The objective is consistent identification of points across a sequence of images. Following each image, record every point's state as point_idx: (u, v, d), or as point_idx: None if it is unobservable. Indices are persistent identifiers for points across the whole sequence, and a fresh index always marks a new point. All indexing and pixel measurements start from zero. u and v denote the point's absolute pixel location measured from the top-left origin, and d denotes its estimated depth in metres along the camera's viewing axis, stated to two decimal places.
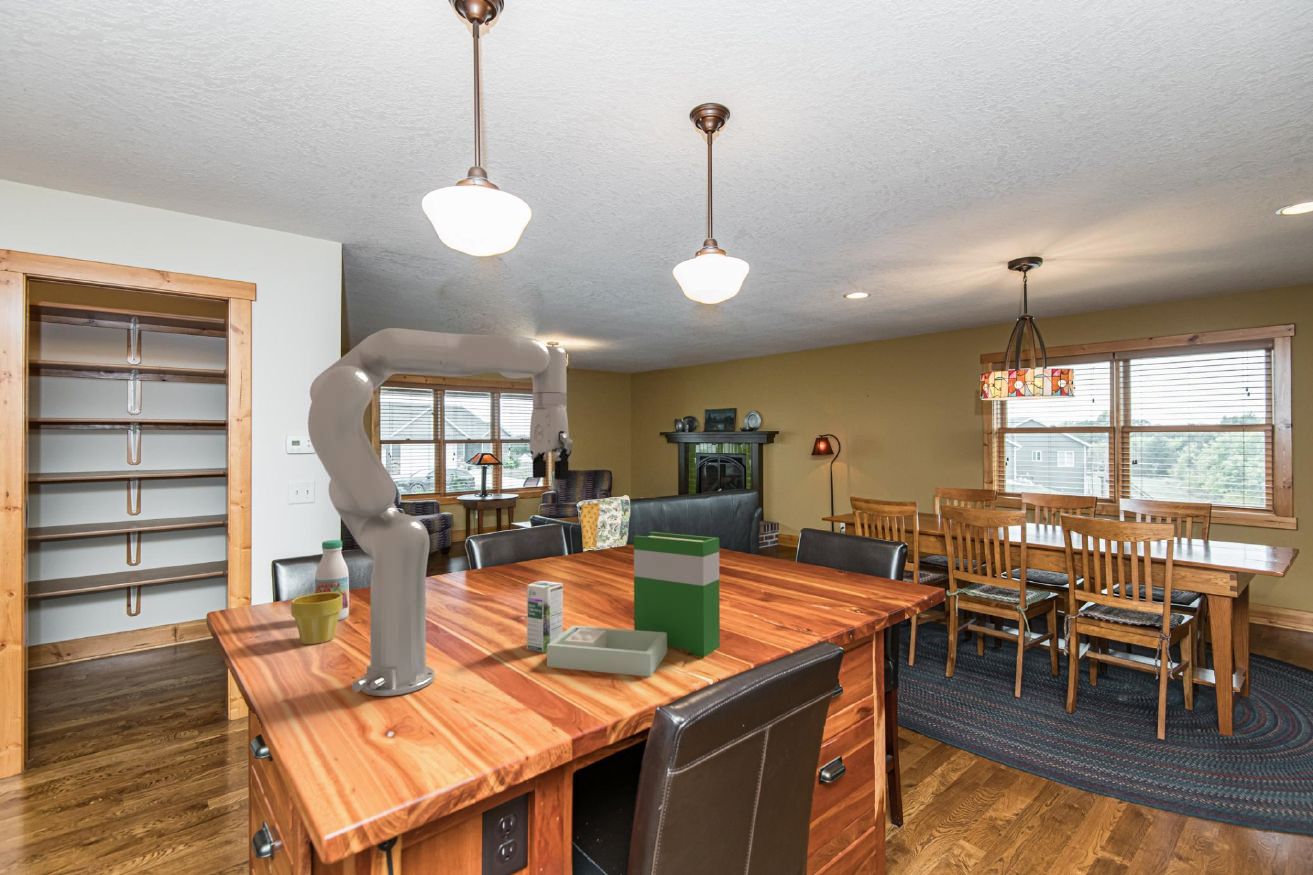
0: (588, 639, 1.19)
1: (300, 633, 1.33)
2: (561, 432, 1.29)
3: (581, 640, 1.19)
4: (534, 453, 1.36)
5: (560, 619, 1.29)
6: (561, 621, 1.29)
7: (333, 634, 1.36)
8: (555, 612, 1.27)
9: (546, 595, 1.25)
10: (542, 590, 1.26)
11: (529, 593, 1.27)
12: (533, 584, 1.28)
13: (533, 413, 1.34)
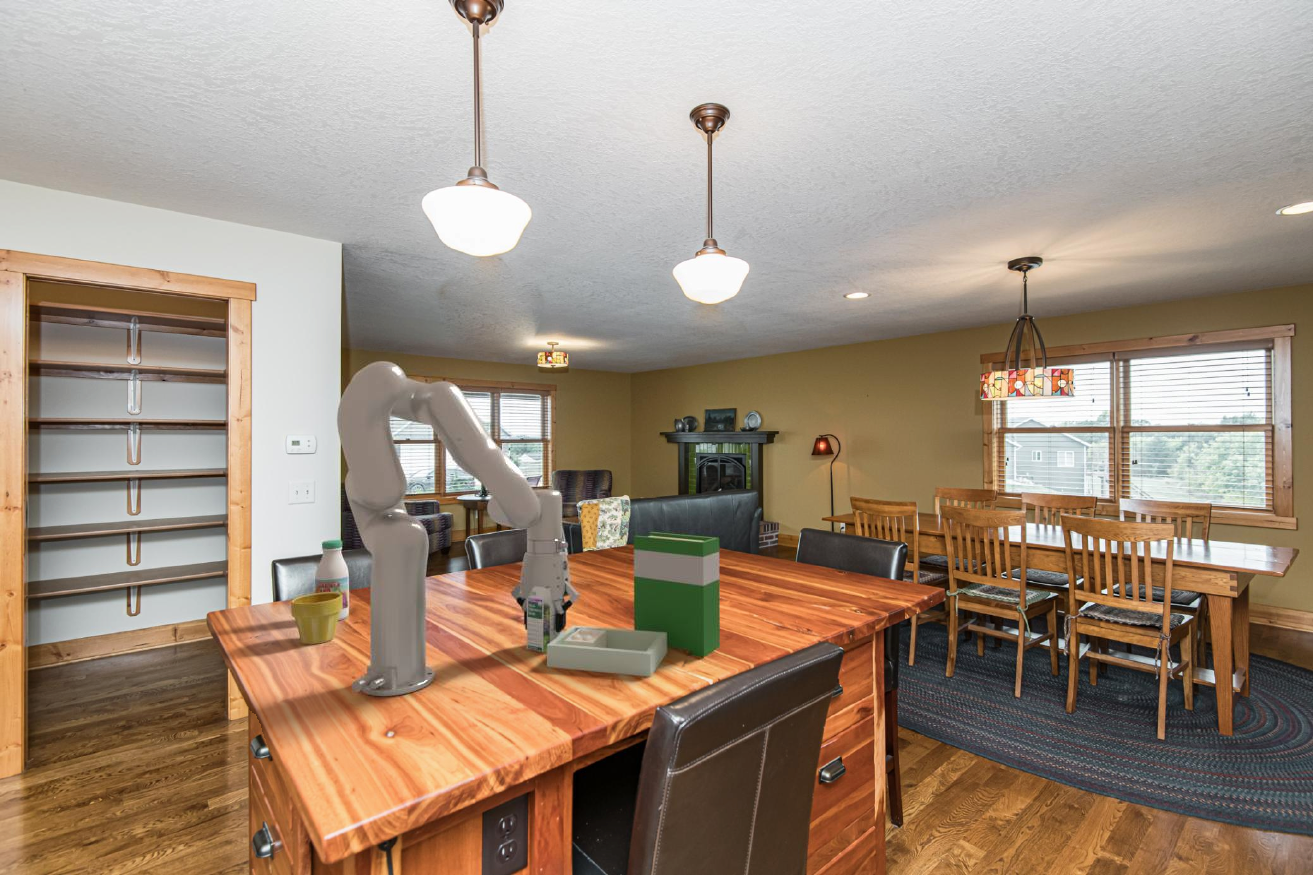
0: (588, 639, 1.19)
1: (300, 633, 1.33)
2: None
3: (581, 640, 1.19)
4: None
5: None
6: None
7: (333, 634, 1.36)
8: (555, 612, 1.27)
9: (546, 595, 1.25)
10: (542, 590, 1.26)
11: None
12: None
13: None
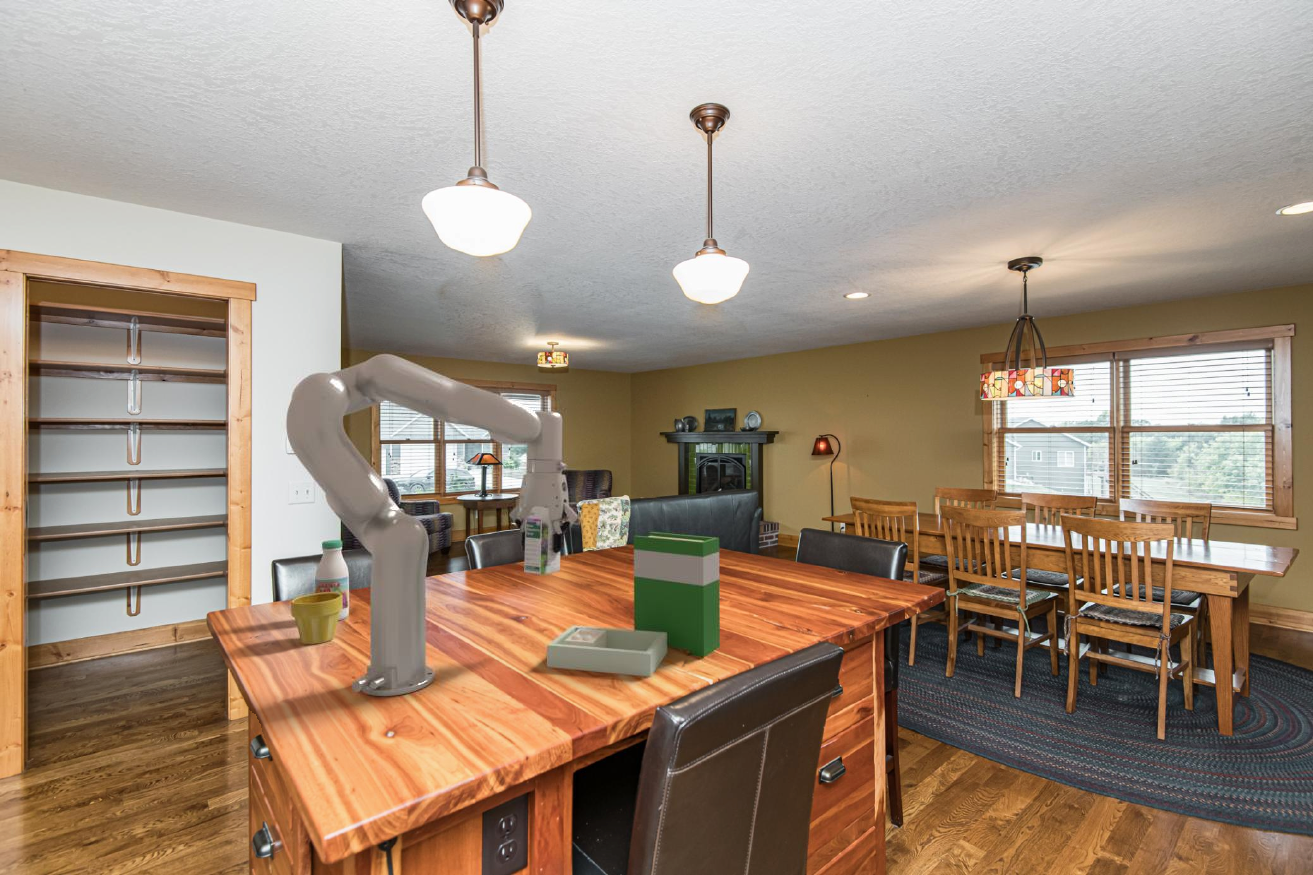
0: (588, 639, 1.19)
1: (300, 633, 1.33)
2: None
3: (581, 640, 1.19)
4: None
5: None
6: None
7: (333, 634, 1.36)
8: (554, 533, 1.28)
9: (545, 514, 1.25)
10: (541, 509, 1.26)
11: None
12: None
13: None
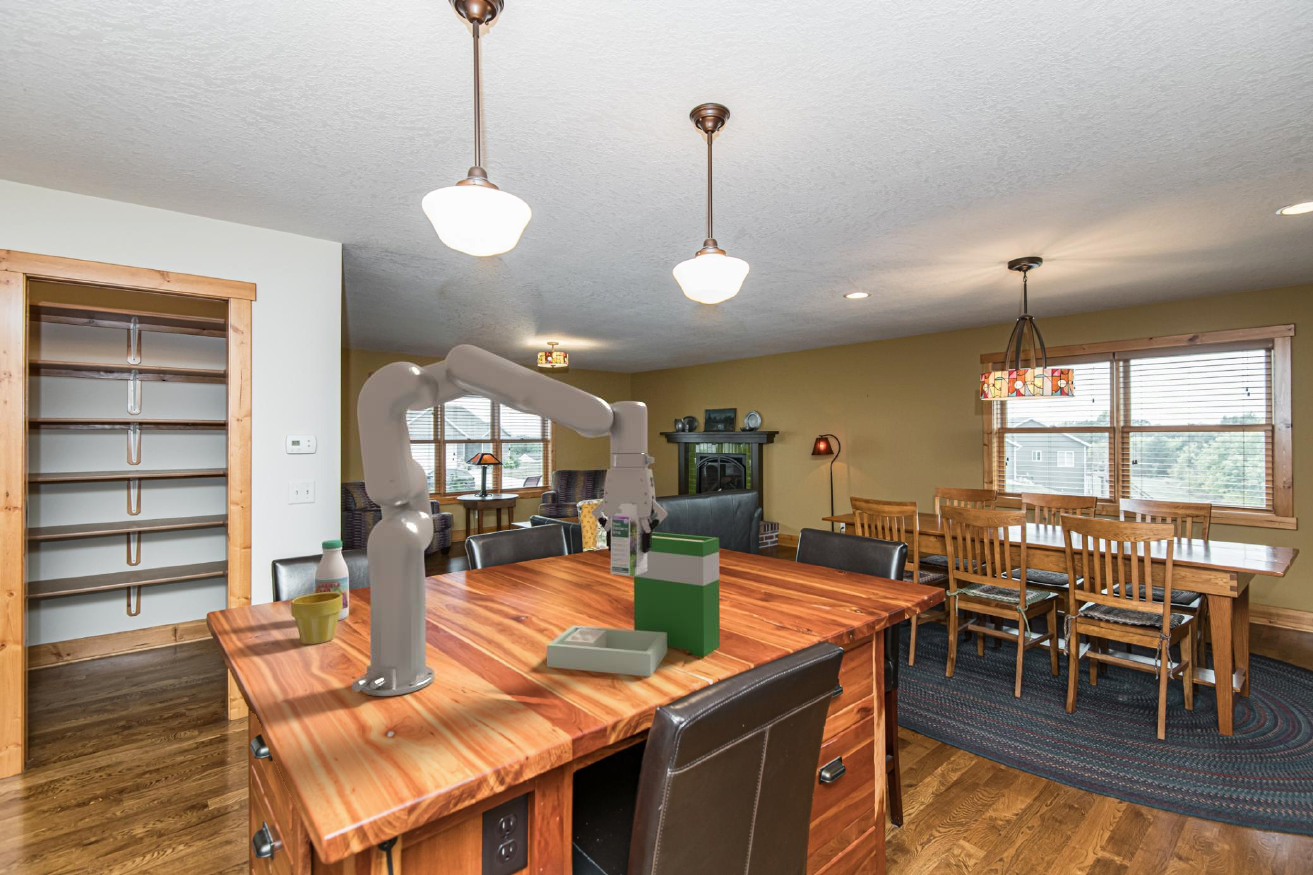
0: (588, 639, 1.19)
1: (300, 633, 1.33)
2: None
3: (581, 640, 1.19)
4: None
5: None
6: None
7: (333, 634, 1.36)
8: (641, 531, 1.19)
9: (633, 512, 1.16)
10: (629, 506, 1.17)
11: None
12: None
13: None
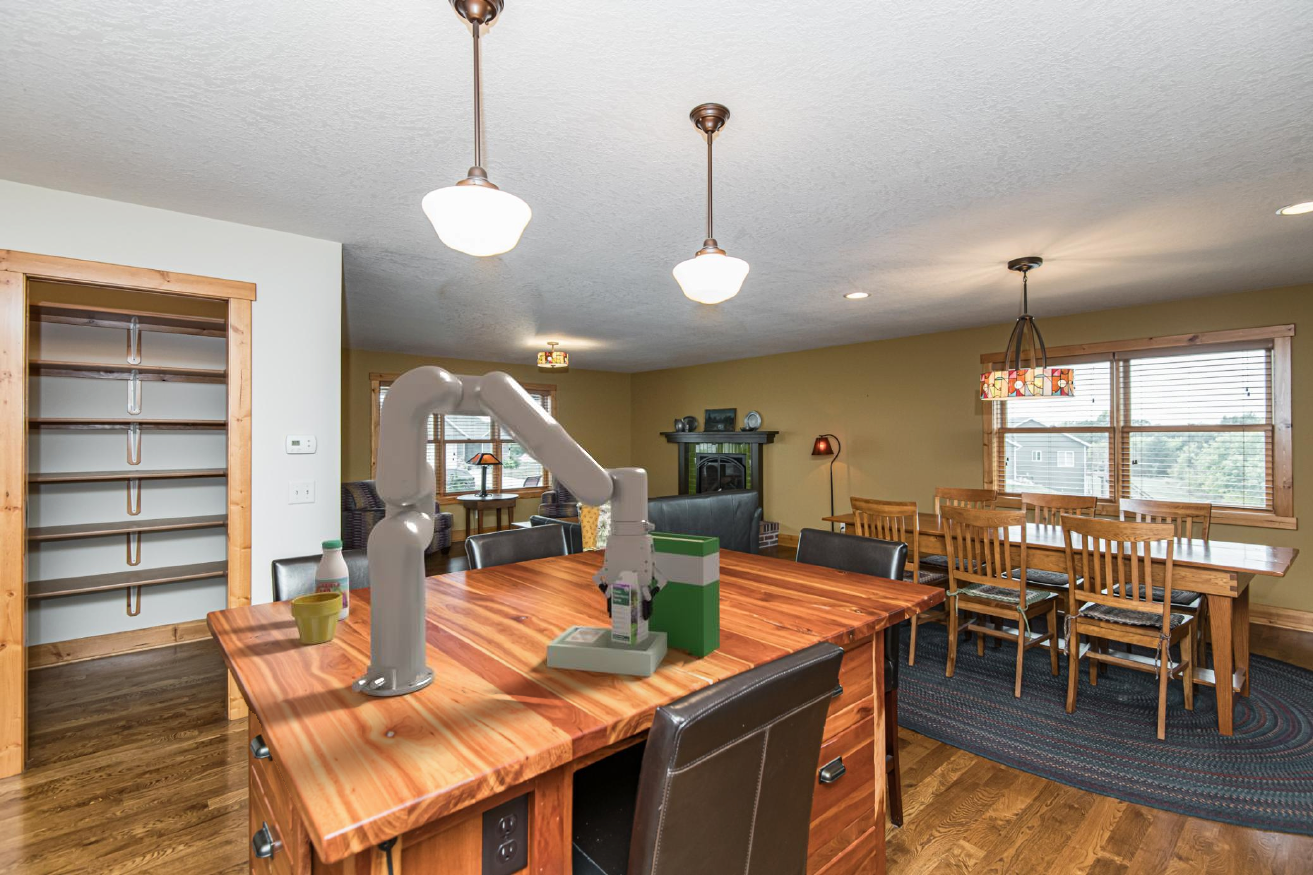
0: (588, 639, 1.19)
1: (300, 633, 1.33)
2: None
3: (581, 640, 1.19)
4: None
5: None
6: None
7: (333, 634, 1.36)
8: (642, 598, 1.19)
9: (634, 580, 1.16)
10: (629, 574, 1.17)
11: None
12: None
13: None
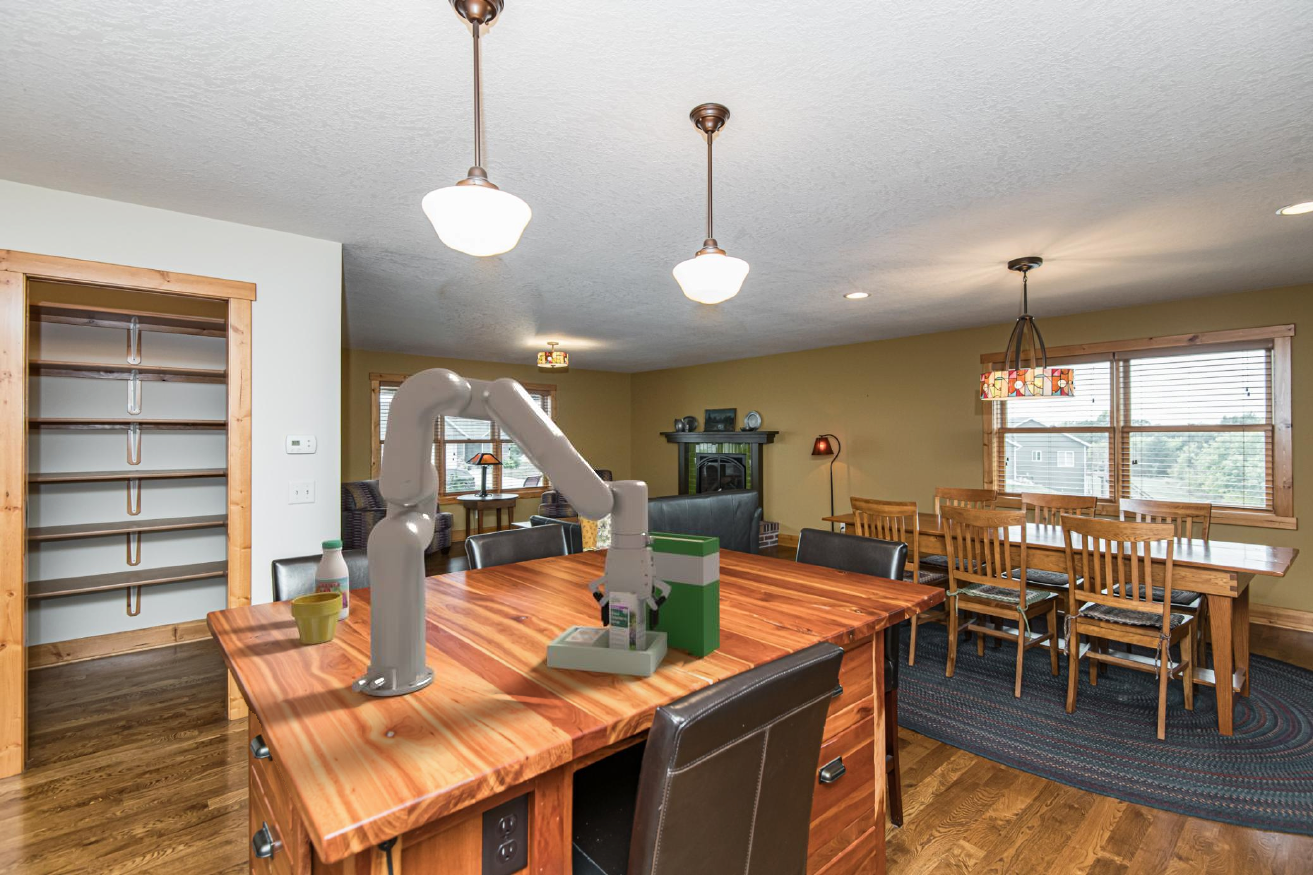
0: (588, 639, 1.19)
1: (300, 633, 1.33)
2: None
3: (581, 640, 1.19)
4: None
5: (644, 627, 1.20)
6: (644, 630, 1.20)
7: (333, 634, 1.36)
8: (640, 620, 1.19)
9: (632, 602, 1.16)
10: (628, 596, 1.17)
11: (611, 599, 1.18)
12: None
13: None
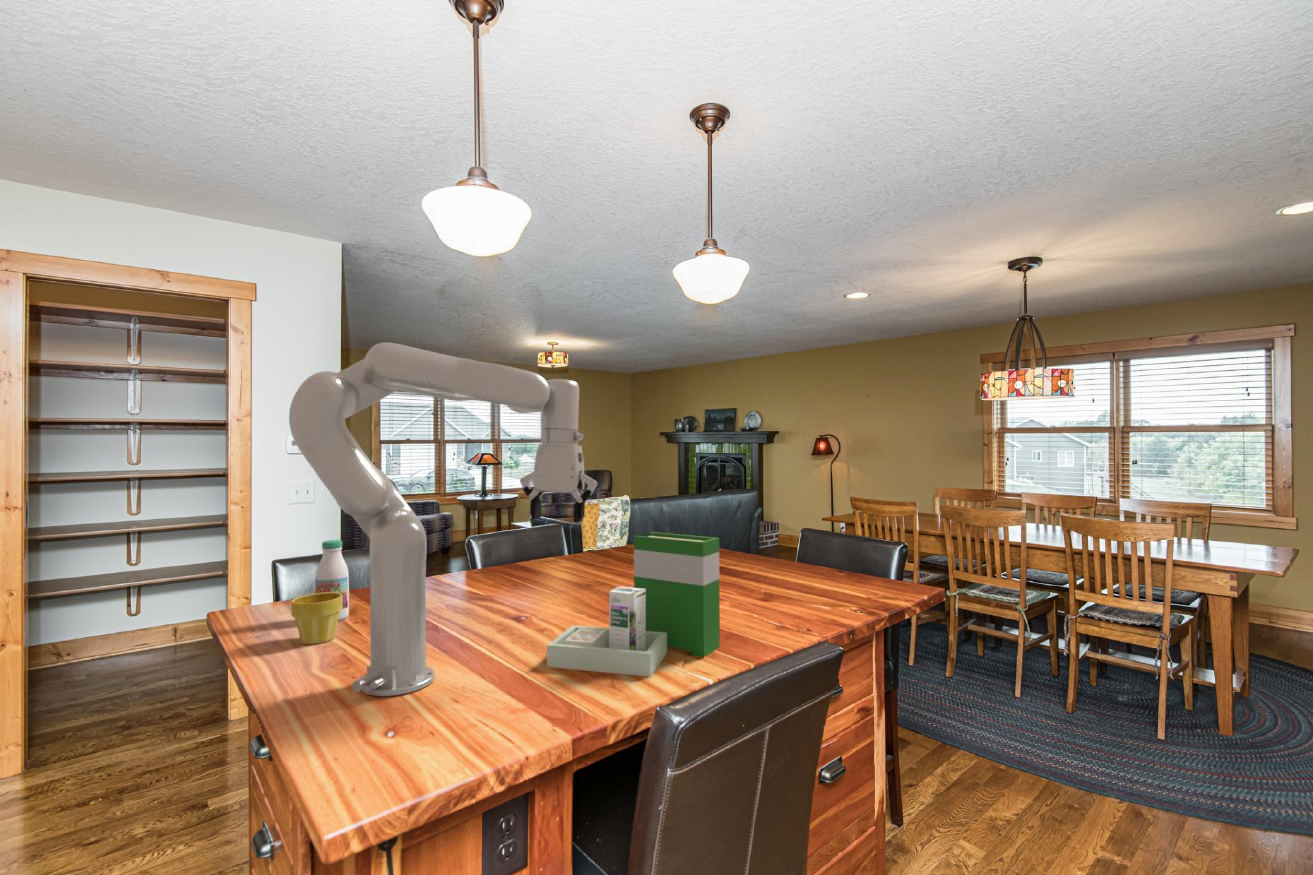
0: (588, 639, 1.19)
1: (300, 633, 1.33)
2: None
3: (581, 640, 1.19)
4: None
5: (644, 627, 1.20)
6: (644, 630, 1.20)
7: (333, 634, 1.36)
8: (640, 620, 1.19)
9: (632, 602, 1.16)
10: (628, 596, 1.17)
11: (611, 599, 1.18)
12: (615, 590, 1.19)
13: None
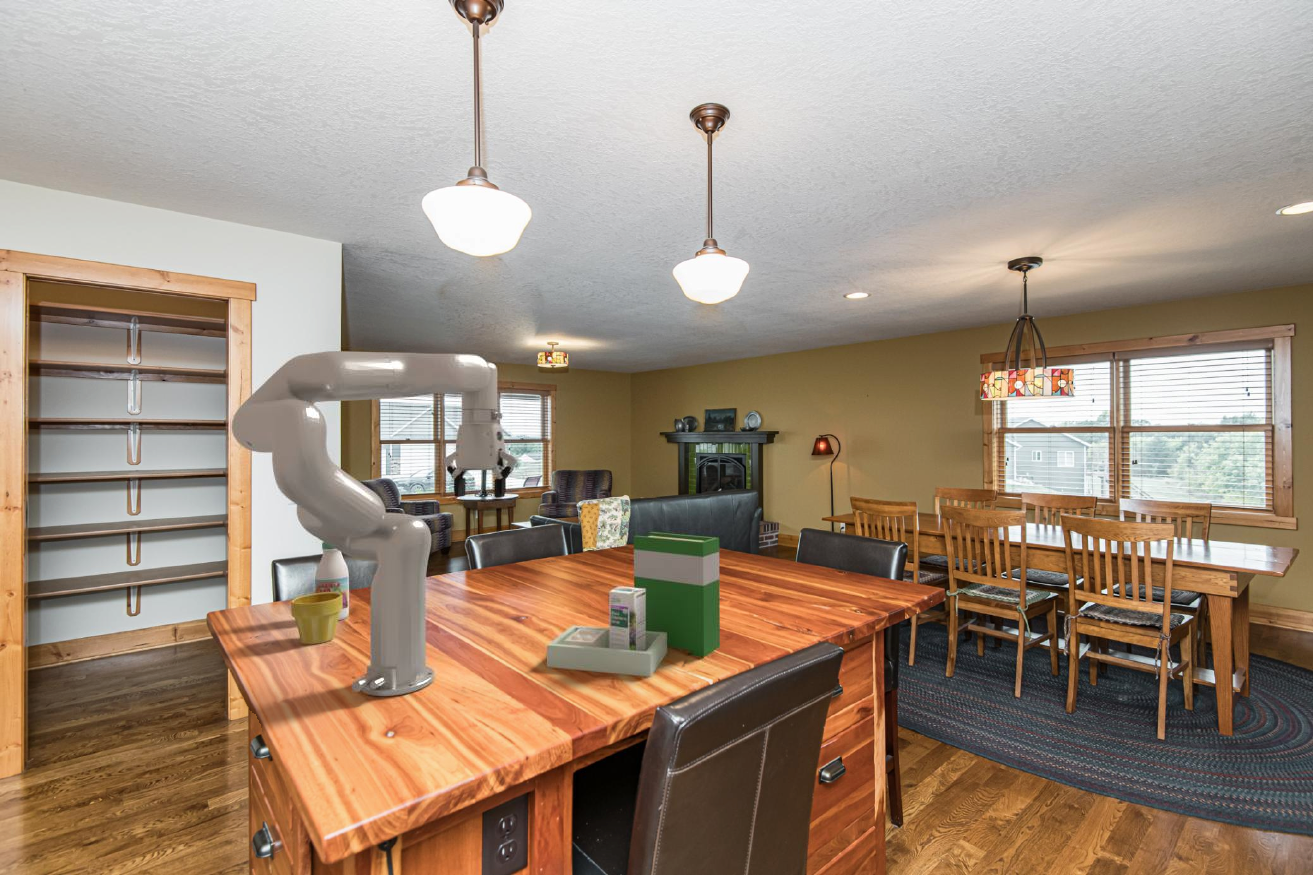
0: (588, 639, 1.19)
1: (300, 633, 1.33)
2: None
3: (581, 640, 1.19)
4: None
5: (644, 627, 1.20)
6: (644, 630, 1.20)
7: (333, 634, 1.36)
8: (640, 620, 1.19)
9: (632, 602, 1.16)
10: (628, 596, 1.17)
11: (611, 599, 1.18)
12: (615, 590, 1.19)
13: None
